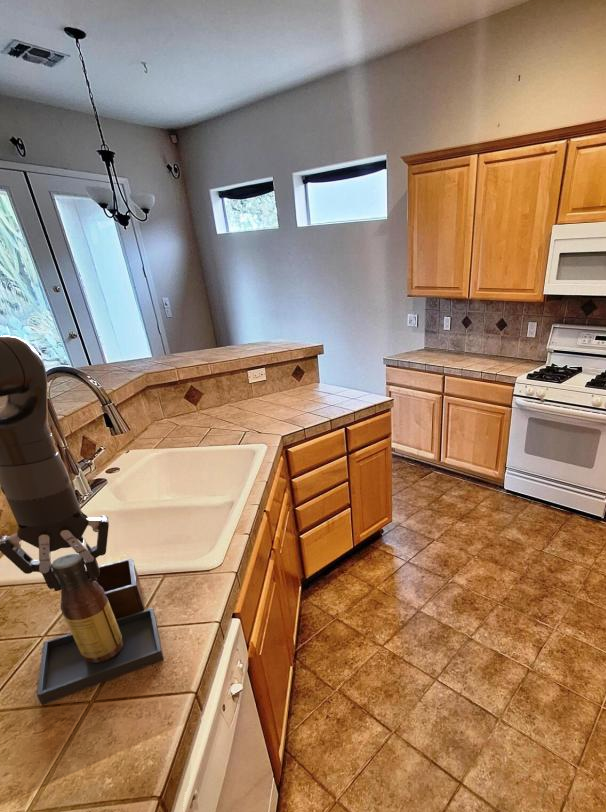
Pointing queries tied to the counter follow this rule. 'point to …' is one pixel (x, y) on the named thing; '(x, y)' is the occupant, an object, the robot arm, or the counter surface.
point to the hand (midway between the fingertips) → (76, 582)
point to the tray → (75, 673)
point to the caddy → (121, 587)
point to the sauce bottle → (87, 610)
